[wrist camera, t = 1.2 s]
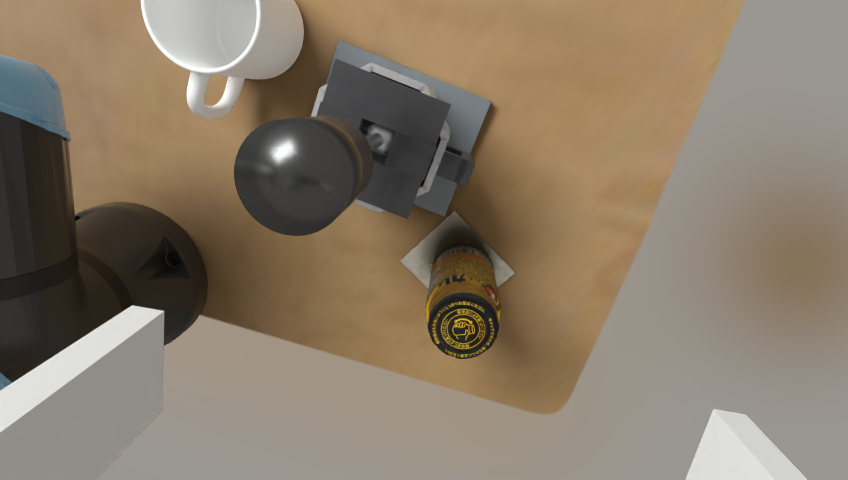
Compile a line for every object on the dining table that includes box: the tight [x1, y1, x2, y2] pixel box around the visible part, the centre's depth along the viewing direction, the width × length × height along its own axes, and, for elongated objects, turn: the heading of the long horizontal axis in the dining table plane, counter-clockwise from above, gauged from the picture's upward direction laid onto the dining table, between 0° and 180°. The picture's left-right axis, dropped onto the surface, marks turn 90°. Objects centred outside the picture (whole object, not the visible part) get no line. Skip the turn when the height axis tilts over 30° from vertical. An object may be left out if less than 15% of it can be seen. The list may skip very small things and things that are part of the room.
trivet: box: [325, 40, 491, 217], centre depth 43 cm, size 14×11×1 cm
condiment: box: [400, 211, 515, 359], centre depth 41 cm, size 7×8×12 cm
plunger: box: [234, 115, 396, 236], centre depth 26 cm, size 7×7×19 cm
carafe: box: [311, 59, 475, 219], centre depth 38 cm, size 12×10×11 cm
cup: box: [141, 0, 304, 119], centre depth 38 cm, size 8×12×10 cm
